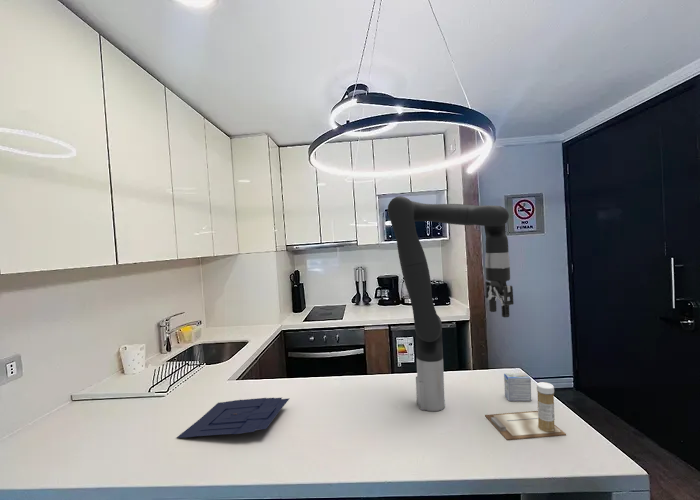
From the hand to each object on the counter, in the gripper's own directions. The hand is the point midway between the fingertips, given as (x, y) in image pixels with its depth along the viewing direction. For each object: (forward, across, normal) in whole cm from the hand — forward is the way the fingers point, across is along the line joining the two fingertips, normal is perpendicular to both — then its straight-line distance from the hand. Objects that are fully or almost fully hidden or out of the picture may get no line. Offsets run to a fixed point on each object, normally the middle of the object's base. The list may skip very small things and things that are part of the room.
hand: (499, 314), depth 116 cm
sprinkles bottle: (+33, +13, +7) cm, 36 cm away
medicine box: (+33, -8, +10) cm, 36 cm away
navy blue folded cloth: (+34, -7, -90) cm, 96 cm away
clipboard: (+33, +9, +2) cm, 34 cm away
